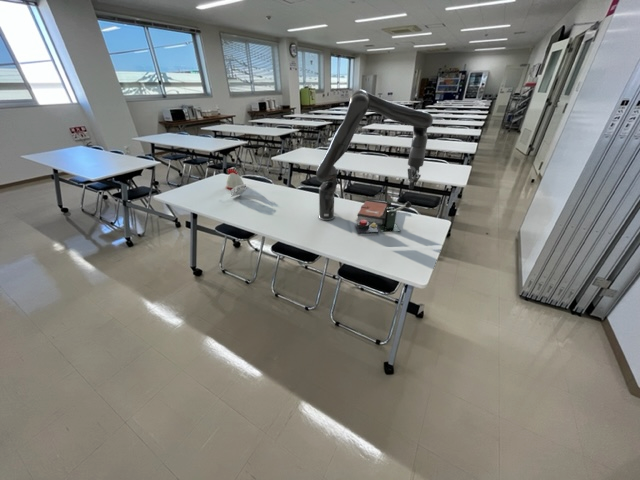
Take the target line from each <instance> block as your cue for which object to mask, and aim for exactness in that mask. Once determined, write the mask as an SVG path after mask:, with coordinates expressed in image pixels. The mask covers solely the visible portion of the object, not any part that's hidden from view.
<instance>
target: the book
mask: <svg viewBox="0 0 640 480" xmlns="http://www.w3.org/2000/svg"><path fill="white" fill-rule="evenodd" d="M391 207H392V202H391V201H381V200H374V199H366V200H365V201H364V203H363V204H362V205H361V207H360V209H359V211H358V213H357V214H356V216H357V220H358V221H360V220H366V221H367V222H369V223H375V224H384V221H385V214H386V208H391Z"/></svg>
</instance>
